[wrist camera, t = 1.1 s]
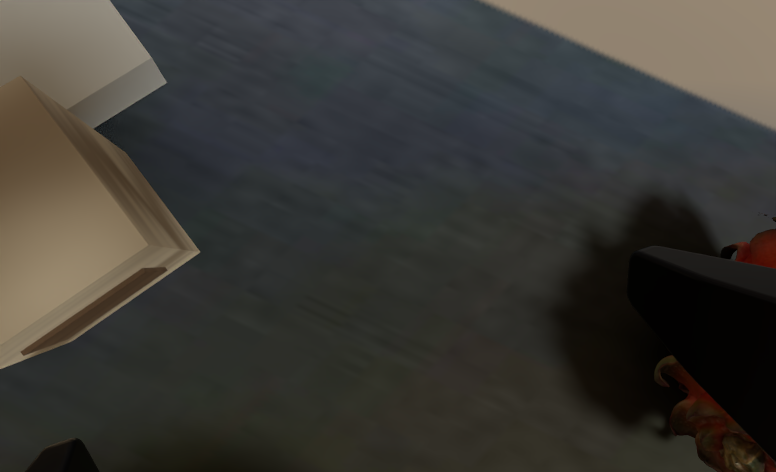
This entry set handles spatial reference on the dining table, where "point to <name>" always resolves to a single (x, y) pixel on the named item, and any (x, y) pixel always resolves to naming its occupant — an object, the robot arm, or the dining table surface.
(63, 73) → the grey plinth
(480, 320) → the dining table surface
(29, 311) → the birch block
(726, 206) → the dining table surface
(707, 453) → the dragon fruit
